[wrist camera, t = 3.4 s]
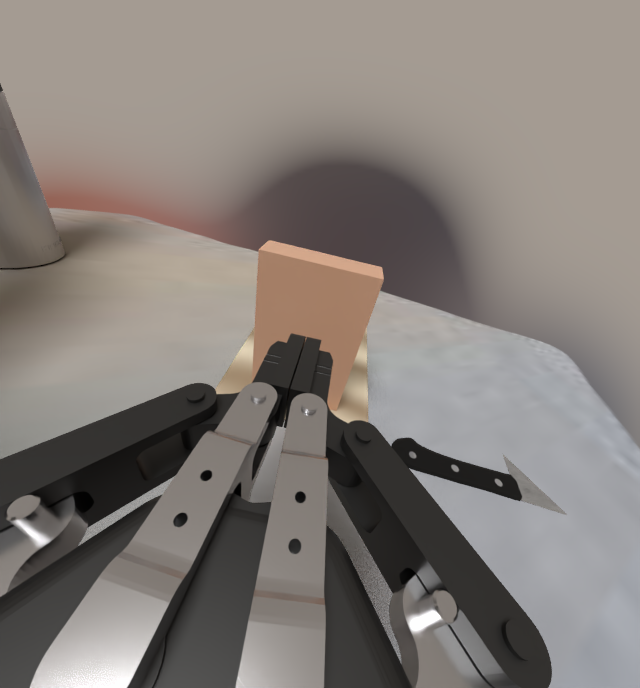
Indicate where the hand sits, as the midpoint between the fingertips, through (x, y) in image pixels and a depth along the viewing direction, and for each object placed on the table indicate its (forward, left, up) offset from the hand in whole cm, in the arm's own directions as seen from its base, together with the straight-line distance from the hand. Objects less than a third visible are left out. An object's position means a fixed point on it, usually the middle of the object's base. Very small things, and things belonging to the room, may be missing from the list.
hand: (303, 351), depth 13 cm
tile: (+2, +7, -11) cm, 13 cm away
